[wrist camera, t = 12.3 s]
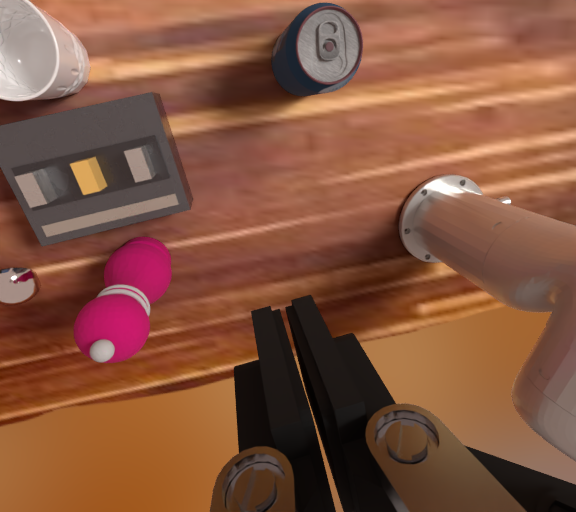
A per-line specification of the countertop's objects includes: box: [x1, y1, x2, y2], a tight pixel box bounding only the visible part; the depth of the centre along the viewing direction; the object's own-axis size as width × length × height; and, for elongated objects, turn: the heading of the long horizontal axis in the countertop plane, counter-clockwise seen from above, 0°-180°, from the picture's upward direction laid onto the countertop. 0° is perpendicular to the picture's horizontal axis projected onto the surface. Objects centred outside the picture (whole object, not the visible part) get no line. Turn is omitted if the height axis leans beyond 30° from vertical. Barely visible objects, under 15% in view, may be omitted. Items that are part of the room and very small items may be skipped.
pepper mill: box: [74, 237, 172, 363], centre depth 37 cm, size 7×7×20 cm
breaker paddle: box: [70, 157, 107, 195], centre depth 36 cm, size 2×3×2 cm, turn 12°
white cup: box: [0, 0, 91, 101], centre depth 33 cm, size 8×8×10 cm
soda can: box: [272, 3, 363, 96], centre depth 36 cm, size 7×7×12 cm
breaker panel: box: [0, 92, 193, 246], centre depth 38 cm, size 16×12×8 cm
